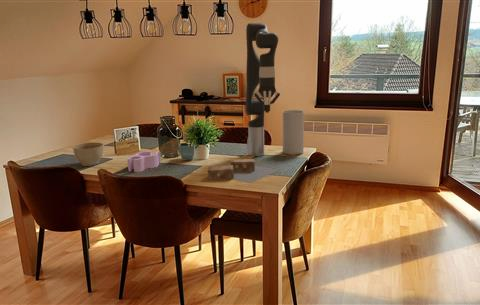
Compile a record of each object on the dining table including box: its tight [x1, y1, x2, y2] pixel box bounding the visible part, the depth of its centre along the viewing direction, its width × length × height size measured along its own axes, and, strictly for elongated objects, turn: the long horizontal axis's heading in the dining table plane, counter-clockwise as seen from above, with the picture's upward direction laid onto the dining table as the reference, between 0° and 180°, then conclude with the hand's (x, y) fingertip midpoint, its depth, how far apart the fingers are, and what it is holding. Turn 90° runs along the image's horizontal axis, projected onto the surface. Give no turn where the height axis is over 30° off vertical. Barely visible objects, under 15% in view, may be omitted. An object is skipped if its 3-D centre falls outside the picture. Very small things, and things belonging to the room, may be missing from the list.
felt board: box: [232, 165, 279, 184], centre depth 198 cm, size 17×25×1 cm
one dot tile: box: [207, 164, 235, 180], centre depth 192 cm, size 5×5×12 cm
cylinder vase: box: [282, 109, 305, 156], centre depth 237 cm, size 12×12×25 cm
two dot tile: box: [230, 158, 256, 172], centre depth 204 cm, size 5×5×12 cm
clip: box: [126, 150, 162, 173], centre depth 215 cm, size 20×12×7 cm, turn 153°
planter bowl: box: [72, 141, 104, 167], centre depth 223 cm, size 16×16×11 cm
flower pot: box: [178, 142, 196, 161], centre depth 229 cm, size 9×9×9 cm
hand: (267, 112), depth 192 cm, fingers closed
